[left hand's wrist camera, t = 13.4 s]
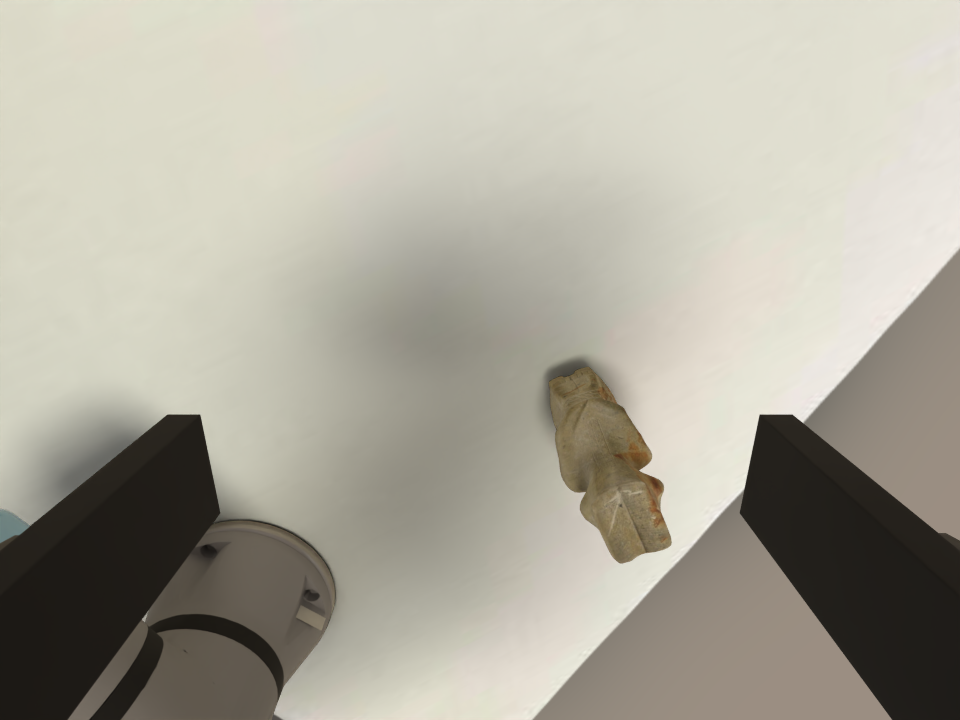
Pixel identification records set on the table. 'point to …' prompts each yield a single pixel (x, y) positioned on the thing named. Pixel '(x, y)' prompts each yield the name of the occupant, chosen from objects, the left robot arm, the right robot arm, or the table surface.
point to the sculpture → (607, 466)
